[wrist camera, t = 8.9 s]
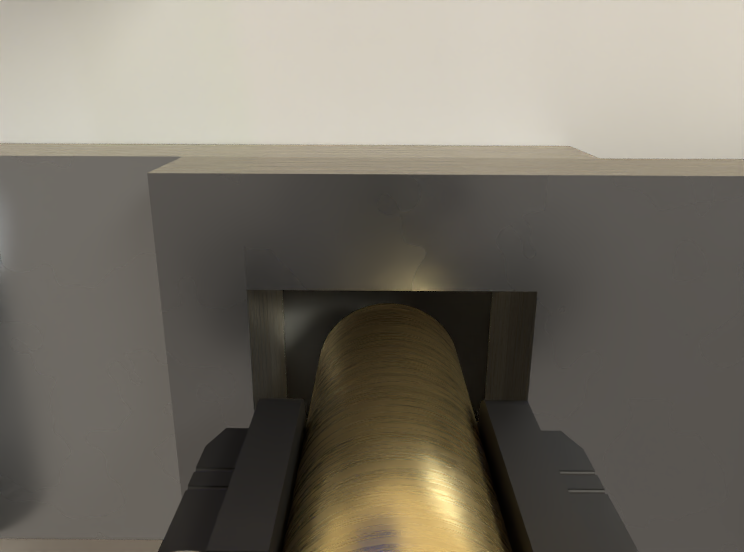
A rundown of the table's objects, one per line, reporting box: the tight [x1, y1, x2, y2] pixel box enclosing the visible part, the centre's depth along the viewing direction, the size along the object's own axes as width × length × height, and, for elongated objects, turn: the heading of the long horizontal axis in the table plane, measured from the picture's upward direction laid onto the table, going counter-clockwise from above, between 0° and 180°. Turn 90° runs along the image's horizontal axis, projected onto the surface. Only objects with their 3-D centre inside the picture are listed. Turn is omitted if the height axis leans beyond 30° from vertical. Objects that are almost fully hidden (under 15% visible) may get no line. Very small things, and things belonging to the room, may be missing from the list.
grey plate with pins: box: [0, 143, 744, 552], centre depth 12 cm, size 9×26×6 cm, turn 90°
